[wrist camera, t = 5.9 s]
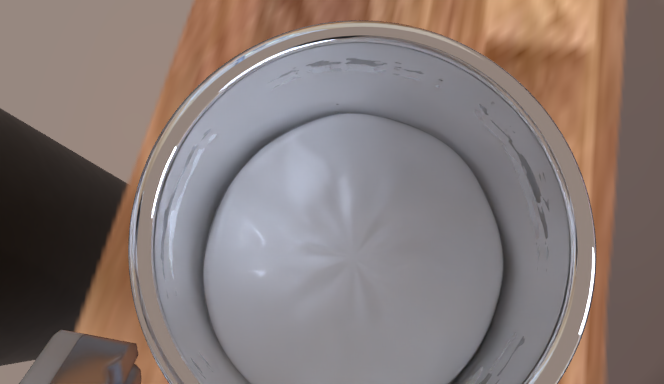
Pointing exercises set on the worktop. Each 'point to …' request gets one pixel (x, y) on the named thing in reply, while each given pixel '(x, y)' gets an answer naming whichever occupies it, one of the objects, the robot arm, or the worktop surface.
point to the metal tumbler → (362, 219)
